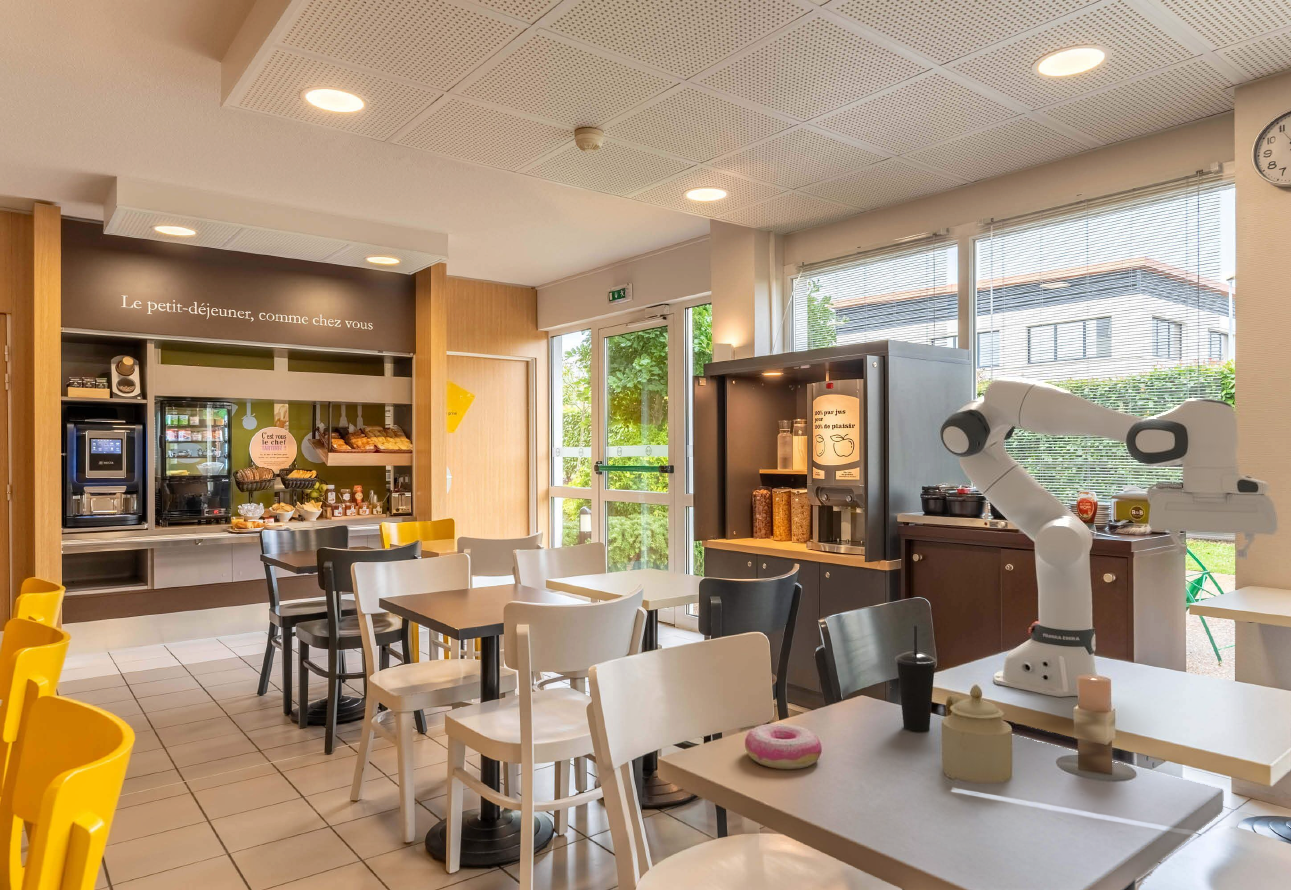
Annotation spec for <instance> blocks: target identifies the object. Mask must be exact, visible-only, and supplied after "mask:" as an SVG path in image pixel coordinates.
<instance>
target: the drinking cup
mask: <svg viewBox="0 0 1291 890" xmlns="http://www.w3.org/2000/svg"><path fill="white" fill-rule="evenodd" d="M894 659H895V661H896V665H897V674H898V683H899V685H898V686H899V693H900V702H901V713H902V714H901V715H902V722H903V723H902V724H903V725H902V726H903V728H904V729H905V730H907V731H909V732H913V733H925V732H929V731H930V726H931V718H932V716H931V715H932V704H933V703H932V702H933V692H934V691H933V690H934V677H935V665H936V664H937V659H936V658H935V657H933V656H930V655H928V654H927V653H924V652H921V651H918V626H917V625H913V651H907V652H904V653H901V654H898V655H896V656H895V658H894Z"/></svg>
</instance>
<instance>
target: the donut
mask: <svg viewBox="0 0 1291 890" xmlns="http://www.w3.org/2000/svg"><path fill="white" fill-rule="evenodd" d="M744 748H745V750H746V752H747V754H748V756H749V757H750V758H751V759H752V760H753V761H755V762H756V763H758V764H760V765H763V766H765V767H768V768H773V769H777V770H778V769H779V770H796V769H797V770H798V769H804V768H807V767H810V766H812V765H813V764H815V763H816V762H817V761H818V760H819V759H820V757H821V754H822V753H823V752H822V744H821V741H820V739H819V737H818V736H817V735H816V734H815V733H813V732H812V731H810V730H809V729H807V728H805V727H802V726H798V725H794V724H788V723H768V724H767V723H766V724H761V725H759V726H756V727H754V728H752V730H749V732H748V733H747V735H746V737H745V740H744Z"/></svg>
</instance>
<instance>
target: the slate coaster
mask: <svg viewBox="0 0 1291 890" xmlns="http://www.w3.org/2000/svg"><path fill="white" fill-rule="evenodd" d="M1112 761H1113V762H1112V775H1109V774H1103V773H1096V772H1090V771H1084V770H1078V754H1069V755H1068V754H1067V755H1063V756H1060V757H1058V758H1056V760H1055V764H1056V766H1057V767H1058V768H1059V769H1061V770H1063V771H1064V772H1066V773H1068V774H1071V775H1074V776H1077V777H1080V778H1084V779H1088V780H1095V781H1102V782H1125V781H1126V782H1127V781H1131V780H1133V779H1135V778H1136V777H1137V776H1138V775H1137V774H1138V773H1137V771H1136V770H1135V769H1134V768H1133V767H1132V766H1129V765H1128V764H1126V763H1124V762H1121V761H1118V760H1115V759H1112ZM1115 762H1118V763H1115ZM1124 764H1125V765H1124Z"/></svg>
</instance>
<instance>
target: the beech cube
mask: <svg viewBox="0 0 1291 890" xmlns="http://www.w3.org/2000/svg"><path fill="white" fill-rule="evenodd" d="M1073 738H1074V739H1077V740H1078V739H1082V740H1087V741H1091V742H1096V743H1101V744H1105V745H1107V744H1108V743H1109V742H1111V741H1112V742H1113V740H1114V739H1116V707H1114V706H1113V707H1112V706H1111V711H1110V712H1091V711H1086V710H1083V709H1081V708H1079V707H1078V705H1076V706H1074V707H1073Z"/></svg>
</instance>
